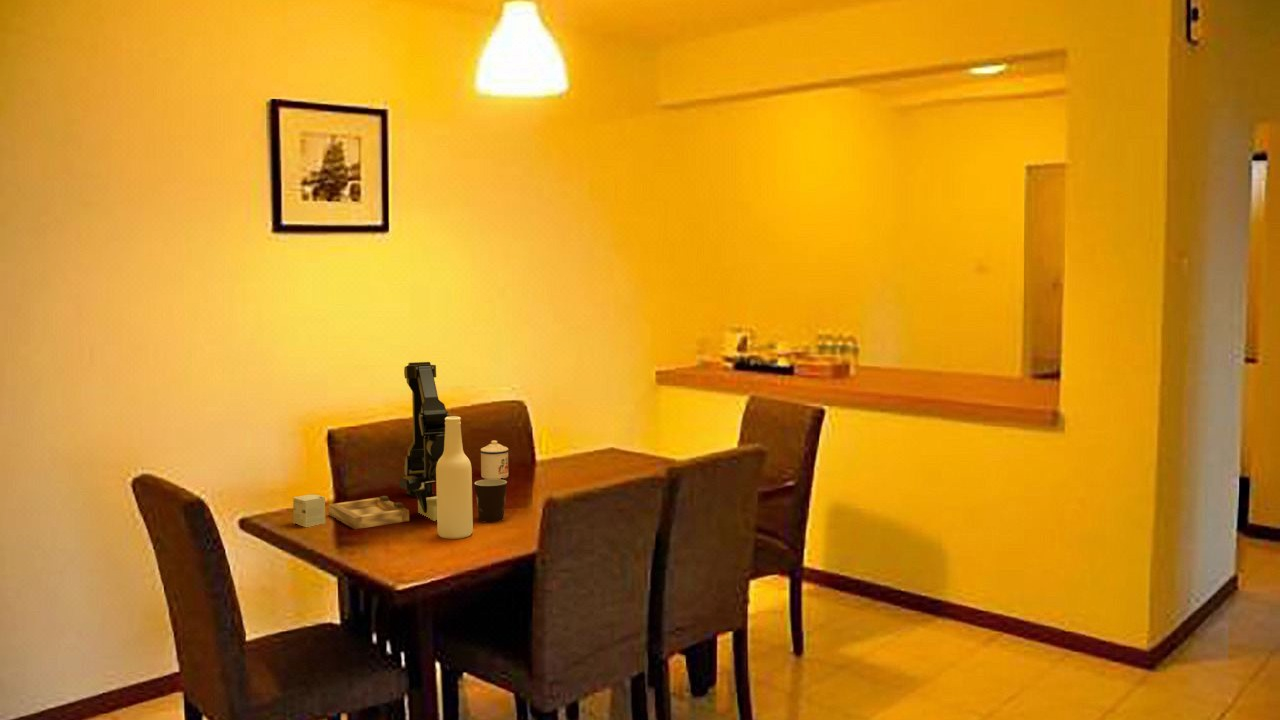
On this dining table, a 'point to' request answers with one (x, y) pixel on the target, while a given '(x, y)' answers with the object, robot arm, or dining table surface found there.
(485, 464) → the teacup with lid
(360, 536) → the dining table surface
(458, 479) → the alcohol
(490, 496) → the coffee mug
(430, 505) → the cream rectangular block
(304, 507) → the skincare box
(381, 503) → the carcass
